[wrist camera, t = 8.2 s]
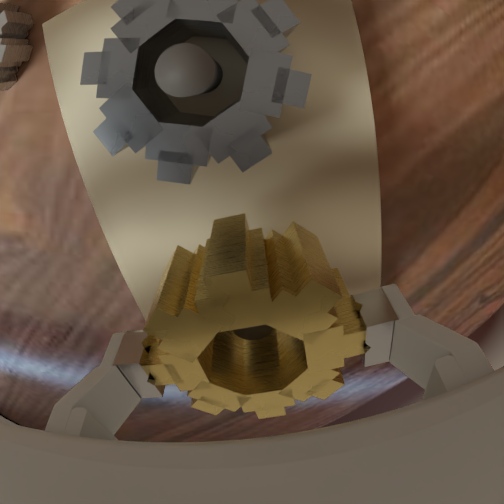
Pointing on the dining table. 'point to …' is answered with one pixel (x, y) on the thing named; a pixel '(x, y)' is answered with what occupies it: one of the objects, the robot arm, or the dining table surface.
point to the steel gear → (162, 108)
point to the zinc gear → (13, 42)
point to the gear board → (227, 172)
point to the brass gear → (252, 320)
